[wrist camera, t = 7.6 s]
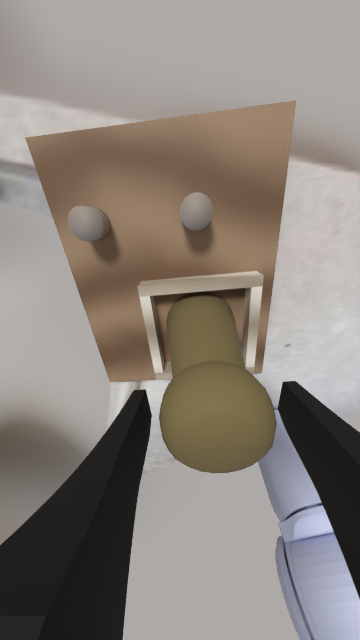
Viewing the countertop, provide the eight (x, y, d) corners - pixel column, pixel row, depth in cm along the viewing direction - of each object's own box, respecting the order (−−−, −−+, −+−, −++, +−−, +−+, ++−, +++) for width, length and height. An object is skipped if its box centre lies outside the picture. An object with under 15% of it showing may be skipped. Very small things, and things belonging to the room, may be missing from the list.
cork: (227, 352, 19) (276, 495, 9) (165, 349, 19) (145, 489, 9) (240, 292, 16) (330, 405, 6) (167, 288, 16) (141, 396, 6)
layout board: (257, 365, 21) (269, 387, 18) (113, 374, 22) (103, 397, 19) (285, 111, 12) (318, 76, 9) (38, 144, 13) (-3, 122, 10)
